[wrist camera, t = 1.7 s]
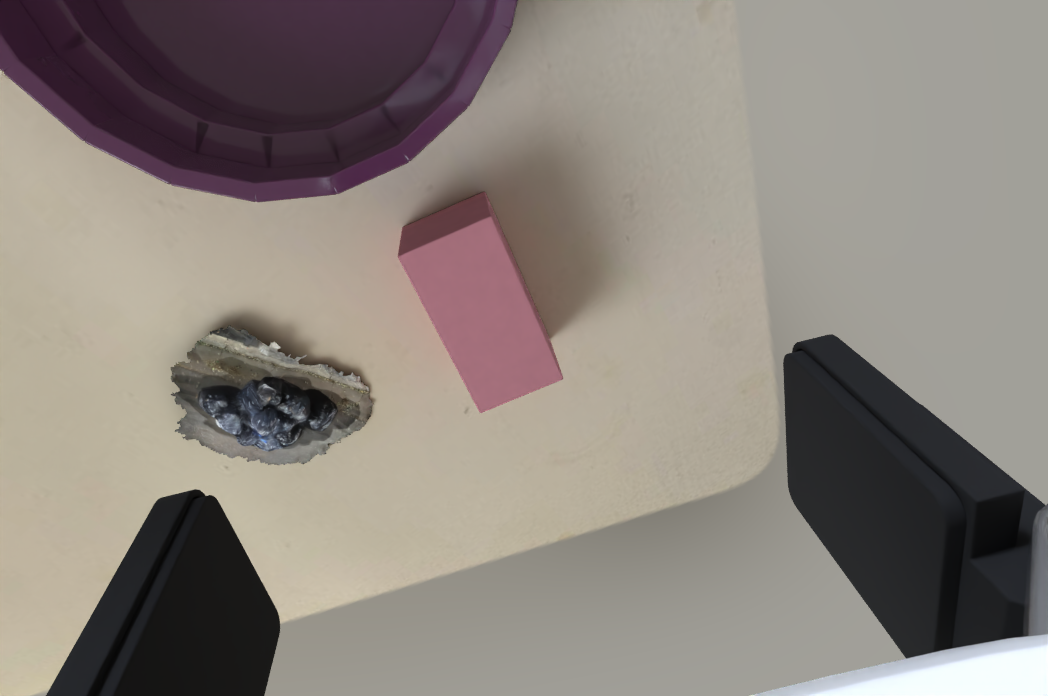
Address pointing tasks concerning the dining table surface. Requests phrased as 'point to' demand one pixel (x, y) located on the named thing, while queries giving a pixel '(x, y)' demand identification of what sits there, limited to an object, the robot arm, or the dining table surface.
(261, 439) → the geode
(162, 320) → the dining table surface
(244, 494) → the dining table surface
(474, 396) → the eraser
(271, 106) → the bowl
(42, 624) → the dining table surface
